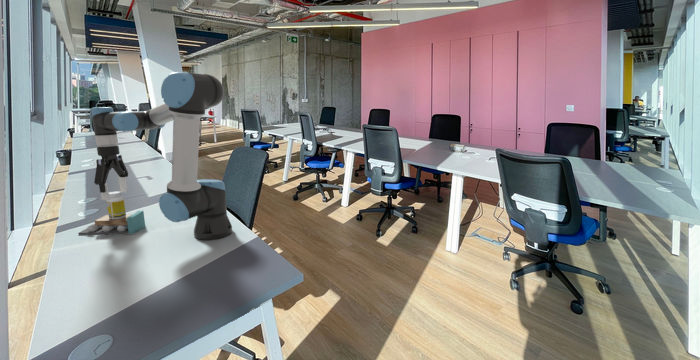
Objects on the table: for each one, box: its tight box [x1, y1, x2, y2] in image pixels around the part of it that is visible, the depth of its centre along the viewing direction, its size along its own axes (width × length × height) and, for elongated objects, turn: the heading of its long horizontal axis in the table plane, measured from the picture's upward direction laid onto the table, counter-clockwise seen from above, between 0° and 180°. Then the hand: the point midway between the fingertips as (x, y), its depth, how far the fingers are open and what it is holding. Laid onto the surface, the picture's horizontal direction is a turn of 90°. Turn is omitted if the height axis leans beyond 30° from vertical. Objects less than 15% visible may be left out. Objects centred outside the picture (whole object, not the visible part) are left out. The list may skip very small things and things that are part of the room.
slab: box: [94, 214, 132, 225], centre depth 155 cm, size 13×8×2 cm, turn 94°
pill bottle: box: [106, 190, 127, 219], centre depth 153 cm, size 6×6×11 cm
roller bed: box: [77, 210, 146, 236], centre depth 155 cm, size 22×10×7 cm, turn 94°
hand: (115, 195), depth 152 cm, fingers open, 13 cm apart
